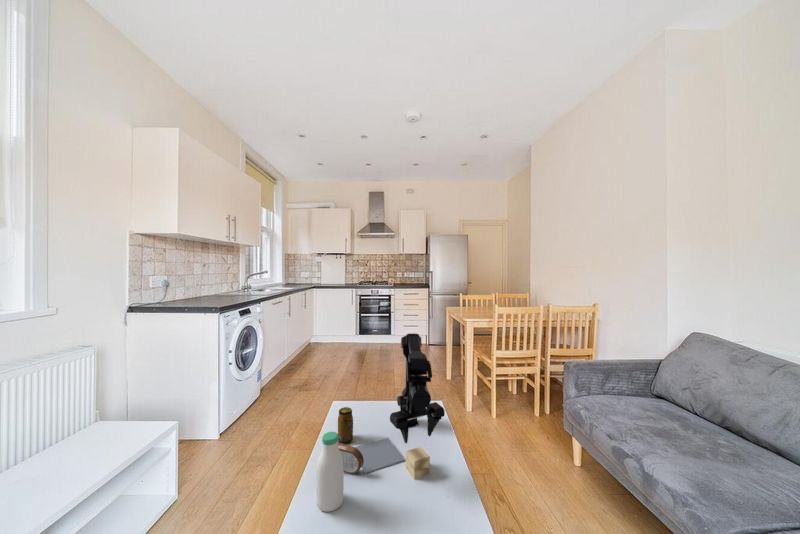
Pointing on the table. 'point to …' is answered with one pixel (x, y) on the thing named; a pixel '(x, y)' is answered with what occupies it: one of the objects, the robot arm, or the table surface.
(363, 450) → the slate mat
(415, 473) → the oak cube
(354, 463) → the tin
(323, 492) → the milk bottle
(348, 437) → the condiment
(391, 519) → the table surface
